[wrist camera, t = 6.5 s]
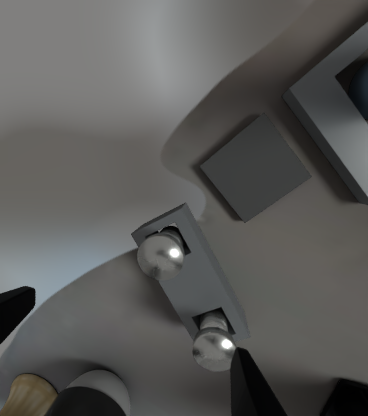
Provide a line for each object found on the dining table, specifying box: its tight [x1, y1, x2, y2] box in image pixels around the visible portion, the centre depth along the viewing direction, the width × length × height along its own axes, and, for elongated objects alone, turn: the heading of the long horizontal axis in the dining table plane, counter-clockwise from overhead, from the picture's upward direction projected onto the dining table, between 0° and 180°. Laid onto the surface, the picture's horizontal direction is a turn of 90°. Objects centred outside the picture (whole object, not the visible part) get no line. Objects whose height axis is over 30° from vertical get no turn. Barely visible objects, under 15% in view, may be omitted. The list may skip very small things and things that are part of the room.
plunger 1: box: [137, 226, 185, 280], centre depth 15 cm, size 4×4×4 cm
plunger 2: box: [193, 307, 236, 372], centre depth 17 cm, size 4×4×4 cm
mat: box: [200, 113, 312, 223], centre depth 16 cm, size 7×7×1 cm
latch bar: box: [131, 203, 250, 342], centre depth 18 cm, size 14×5×3 cm, turn 28°
